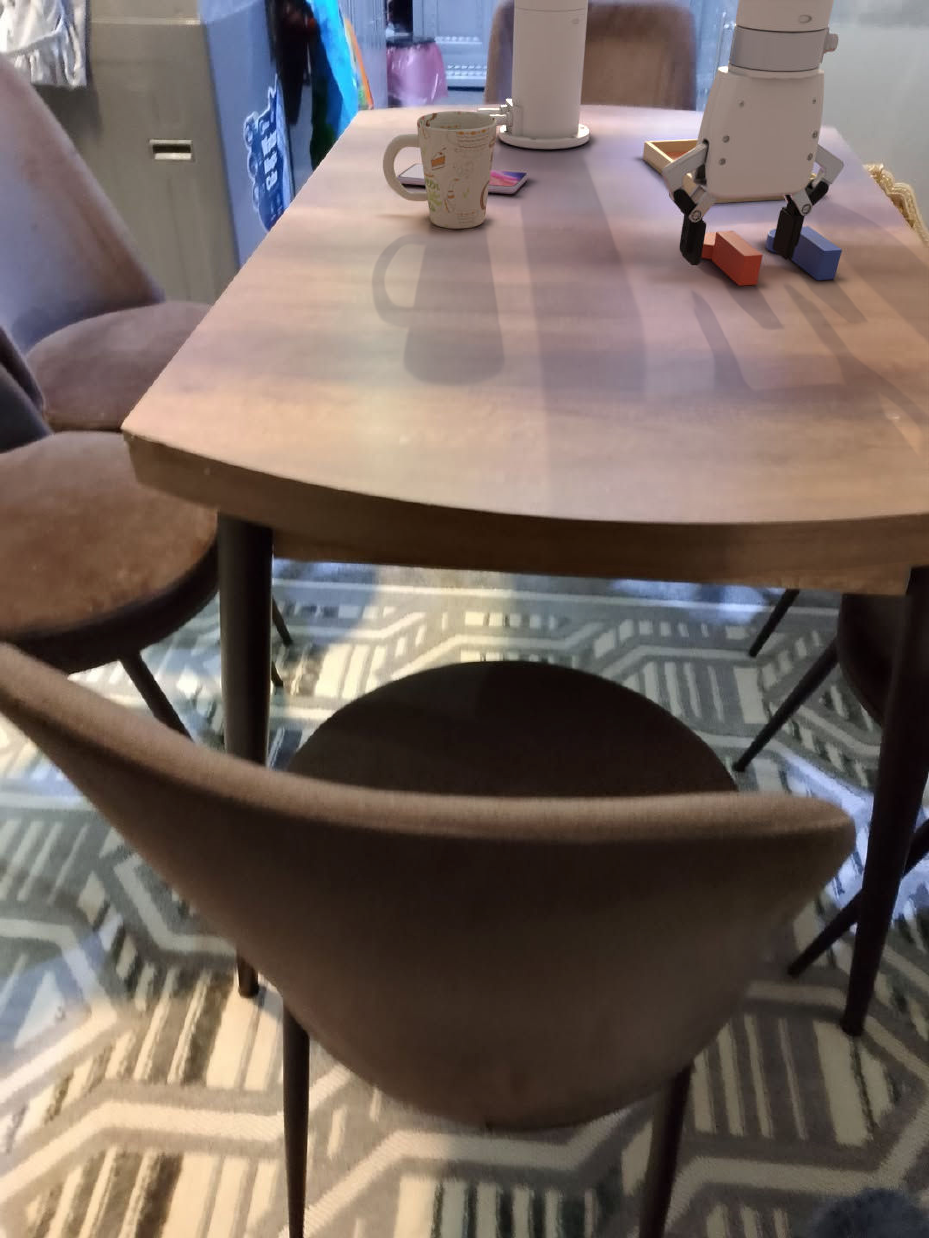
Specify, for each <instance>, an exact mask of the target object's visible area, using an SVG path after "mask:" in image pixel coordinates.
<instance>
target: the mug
mask: <svg viewBox="0 0 929 1238" xmlns="http://www.w3.org/2000/svg"><path fill="white" fill-rule="evenodd" d="M416 128H417V133H404V134H399V135H397V136H395V137H393V138H392V140H391V141H390V142H389V143H388V144H387V147H386V149H385V151H384V154H383V160H382V172H383V175H384V178H385V180H386V182H387V185H388V186H390V188H391V190H392V191H394V192H395V193H396V194H397V195H399V196H400V197H401V198H403V199H404V200H407V201H411V202H427V205H428V212H429V219H430V222H431V223H432V224H433V225H435V226H437V227H441V228H445V229H453V230H454V229H457V230H459V229H469V228H474V227H477V226H480V225H482V224H483V223H484V221H485V219H486V211H487V205H488V198H489V192H488V190H489V182H490V175H491V170H492V167H493V159H494V152H495V144H496V137H497V128H498V126H497V121H496V119H495V118H494V117H492V116H490V115H487V114H483V113H478V112H477V111H467V110H450V111H449V110H448V111H446V110H445V111H438V112H432V113H427V114H424V115H422V116H420V117H418V118H417V120H416ZM404 148H419V151H420V157H421V164H422V165H423V172H424V179H425V185H424V186H425V192H414V191H413V192H412V191H409V190H408V189H406V188H405V187H404V185H402V183H400V182H399V180H398V179H397V177H398V176H397V175H396V172H395V160H396V157H397V156H398V154H399V153H400V152H401V151H402V150H403V149H404Z"/></svg>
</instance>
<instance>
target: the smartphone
mask: <svg viewBox="0 0 929 1238" xmlns="http://www.w3.org/2000/svg"><path fill="white" fill-rule="evenodd" d="M396 177H397V179H398V180H399V182H400V183H401V184H403V185H404V184H406V185H416V186H425V179H424V172H423V165H422V163H413V164H412V165H410V167H408V168H406V169H405V170H404V171H402V172H401V173H400V174H398V175H397V176H396ZM528 178H529V176H528V173H527V172H521V171H512V170H511V171H510V170H499V169H498V170H497V169H491V175H490V182H489V190H488V193H493V194H494V193H495V194H503V195H504V194H505V195H512V194H515V193H516V192H517V191H518V190H519V189H520V187H521V186H523V185H524V183H526V182H527V180H528Z"/></svg>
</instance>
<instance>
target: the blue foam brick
mask: <svg viewBox="0 0 929 1238" xmlns="http://www.w3.org/2000/svg"><path fill="white" fill-rule="evenodd" d="M775 232H776V228H772V229H770V230H769V231H768V232H767V234H766V235H767V237H766V241H765V245H764V246H765V249H767V250H768V251H770V252H771V253H772V252H773V253H775V254H778V253H777V252H776V251H774V250H773V248H772V246H773V241H774V237H775ZM842 251H843V249H841V248H840V247H839V246H837V245H836V244H835V243H833V242H832V241H831V240H829V239H827V238H826V237H825V236H823V235H821V234H820V233H819V232H818V231H817V230H814V229H813V228H812V227H811V226H809V225H804V226H803V225H802V230H801V234H800V238H799V242H798V245H797V246H796V247H795V250H794V254H793V258H792V259H790V260H791V261H792V262H794V263H795V264H796V265H797V266H798V267H800V268H801V269H802V270H804V272H806V273H807V274H809V276H811V277H812V278H814V279H815V281H826V280H827V281H828V280H835V278H836V274H837V271H838V266H839V264H840V259H841V256H842Z"/></svg>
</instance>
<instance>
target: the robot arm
mask: <svg viewBox="0 0 929 1238" xmlns="http://www.w3.org/2000/svg"><path fill="white" fill-rule="evenodd" d="M513 2H514V5H513V6H514V7H513V8H514V9H513V34H512V35H513V41H512V72H511V73H512V74H511V98H506V99H505V105H504V104H503V105H499V108H490V107H488V108H477V110H476V112H478V113H483V114H487V115H490V116H492V117H494V118H495V119H496V121H497V127H500V128H499V139H500V141H502V142H503V143H505V144H508V145H511V146H514V147H519V148H524V149H532V150H533V149H534V150H561V149H570V148H574V147H579V146H582V145H584V144H586V143H587V142H589V140H590V132H591V131H590V129H589V128H588V126H586V125H583V124H581V123H580V117H581V103H582V91H583V90H582V89H583V78H584V77H583V76H584V63H585V50H586V49H585V48H586V37H587V24H588V23H587V22H588V12H589V11H588V9H589V0H513ZM834 2H835V0H738V3H737V9H736V16H735V24H734V27H733V33H732V39H731V45H730V53H729V58H728V64H727V65H726V66H720V67H718V68H717V71H716V74H715V76H714V79H713V81H712V85H711V88H710V90H709V94H708V97H707V101H706V103H705V108H704V110H703V115H702V119H701V123H700V126H699V131H698V136H697V139H698V140H697V144H696V148H694V149H692V150H691V151H689V152H688V153H686V154H684V155H683V156H681V157H680V158H678V159H676V160H675V161H673V162H672V163H670V164H669V165H667V166H665V167H664V168H663V170H662V174H661V176H662V179H663V182H664V184H665V187H666V189H667V192H668V196H669V198H670V199H671V200H672V202H673V203H674V205H676V207H677V208H678V210H680V212H681V213H682V214H683V220H682V224H681V225H682V227H681V231H680V232H681V233H680V240H679V252H680V253H681V256H682V257H683V259H684V260H685V261H687V262H688V263H689V264H690V265H691V266H694V267H695V266H698V265H700V264H701V262H702V257H701V256H702V250H703V244H704V238H705V233H707V221H705V220H704V217H705V216H706V214H707V213H708V212H709V210H710V209H711V208H712V207H713V206H714V205H715V204H716V203H715V202H716V201H717V200H718V198H745V197H763V196H779V195H783V196H784V198H785V199H784V200H785V202H786V206H781V209H780V210H779V213H778V218H777V223H776V226H775V227H776V228H775V229H776V232H775V237H774V241H773V246H772V248H773V250H774V251H776V252H777V253H776V254H778V255H779V256H780V257H782V258H783V259H784V260H791V259H792V258H793V254H794V250H795V247H796V246H797V245H798V242H799V238H800V234H801V230H802V226H803V224H804V221H805V217H806V216H809V215H810V214H811V213H812V211H813V208H814V206H815V205H816V204H817V203H818V202H819V201H821V199H823V198H824V196H826V195H827V193H828V192H829V189H830V186H831V185H832V184H833V183H834V182H835V180H836V179H837V178H838V176H839V175H840V173H841V172H842V170H843V169H844V168H845V167H844V166H845V164H844V161H842V160H841V159H840V158H839V157H837V156H835V155H834V154H833V153H831V152H830V151H829V150H827V149H826V148H824V146H822V145H820V144H819V140H820V133H821V127H822V120H823V111H824V110H823V109H824V98H825V97H824V96H825V71H824V70H823V69H821V68H820V65H821V64H822V63H823V60H824V55H825V54H827V53H833V52H835V51H836V49H837V47H838V45H839V35H838V33H830V27H829V24H830V19H831V14H832V11H833V6H834ZM815 163H816V164H818V166H819V170H818V172H817V173H816V174H817V176H816V178H814V179H813V180H811V181H810V182H809V180H810V177H811V174H812V172H813V170H814V167H815ZM690 172H692V181H693V182H694V183H695V184H697V185H696V186H695V188H694V189H693V190H692V191H691V192H690V194H689V195H688V194H687V192H686V191H685V189H684V185H683V178H684V176H685V175H687V174H688V173H690ZM808 182H809V183H808Z"/></svg>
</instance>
